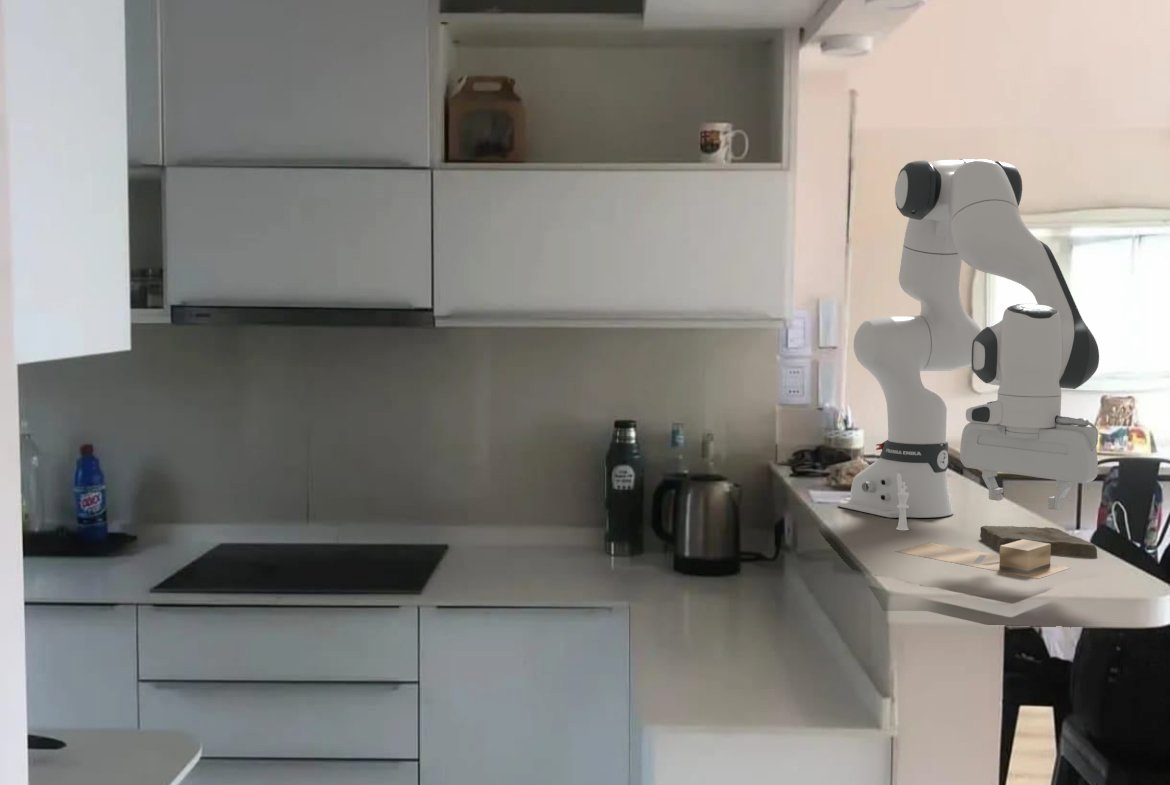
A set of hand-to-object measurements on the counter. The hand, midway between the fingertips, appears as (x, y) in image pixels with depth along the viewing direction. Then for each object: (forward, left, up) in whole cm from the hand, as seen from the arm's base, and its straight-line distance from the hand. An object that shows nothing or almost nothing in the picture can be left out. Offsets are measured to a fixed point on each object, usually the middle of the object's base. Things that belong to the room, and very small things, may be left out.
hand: (1024, 504), depth 165 cm
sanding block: (0, 0, -10) cm, 10 cm away
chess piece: (-28, +11, -11) cm, 32 cm away
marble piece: (-6, +15, -12) cm, 20 cm away
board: (-7, 0, -11) cm, 13 cm away
